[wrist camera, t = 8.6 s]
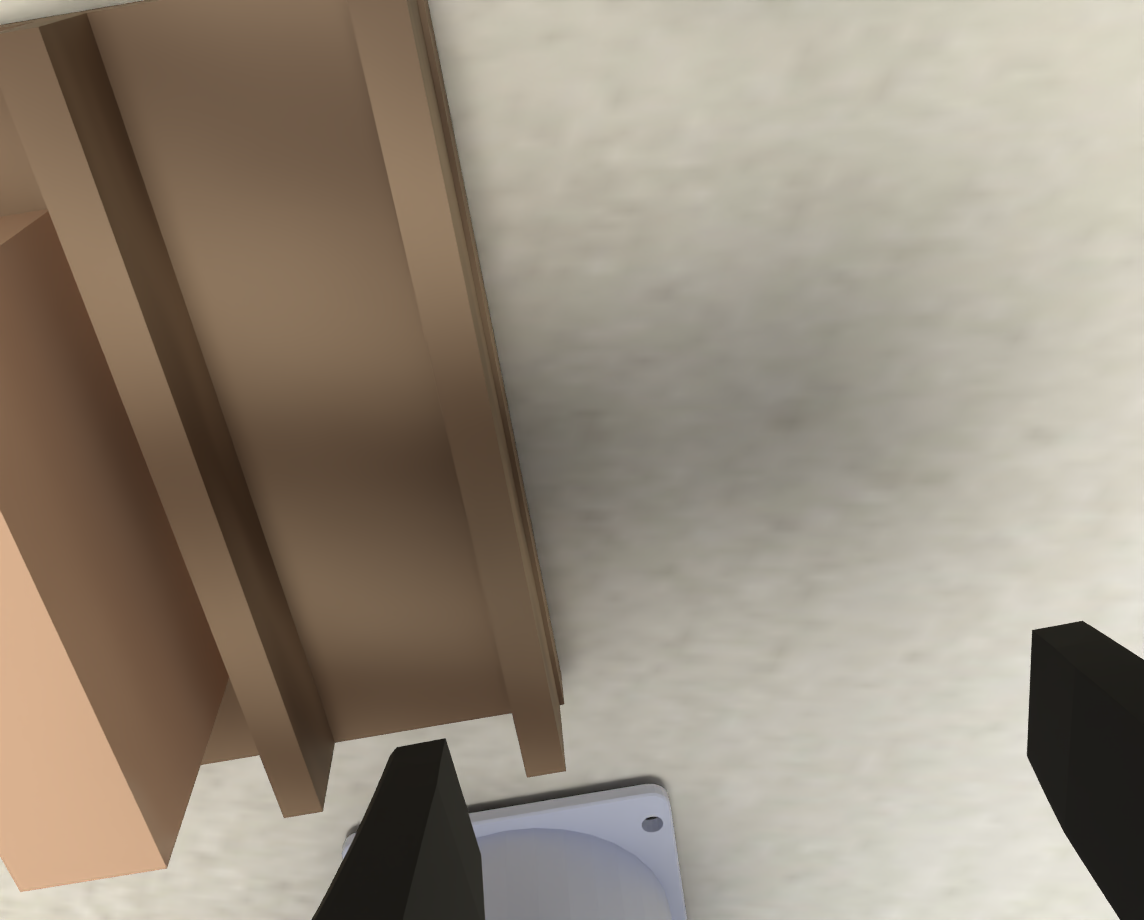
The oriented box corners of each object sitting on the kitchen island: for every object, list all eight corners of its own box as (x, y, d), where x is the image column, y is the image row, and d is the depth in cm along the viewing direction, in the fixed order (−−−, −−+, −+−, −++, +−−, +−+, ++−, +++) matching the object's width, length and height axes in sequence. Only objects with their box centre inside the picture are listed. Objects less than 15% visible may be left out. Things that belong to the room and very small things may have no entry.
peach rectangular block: (229, 677, 22) (166, 868, 18) (111, 695, 22) (19, 892, 18) (51, 208, 18) (-93, 311, 13) (-98, 232, 18) (-291, 344, 13)
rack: (561, 674, 24) (571, 770, 22) (-131, 790, 24) (-206, 899, 22) (418, -47, 17) (406, -36, 15) (-556, 120, 17) (-744, 160, 15)
